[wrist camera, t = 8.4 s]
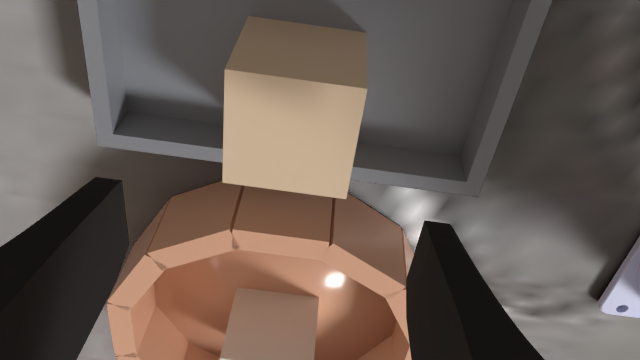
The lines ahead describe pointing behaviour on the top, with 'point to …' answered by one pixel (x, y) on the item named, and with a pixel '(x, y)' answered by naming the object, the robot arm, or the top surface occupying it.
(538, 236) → the top surface
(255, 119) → the beige cardboard cube
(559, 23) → the top surface
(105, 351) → the top surface
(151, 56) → the parts tray
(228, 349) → the pale cube
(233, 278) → the bowl
